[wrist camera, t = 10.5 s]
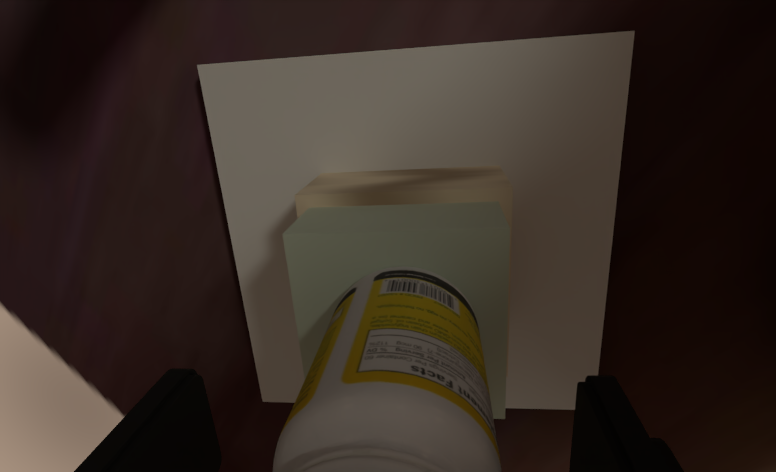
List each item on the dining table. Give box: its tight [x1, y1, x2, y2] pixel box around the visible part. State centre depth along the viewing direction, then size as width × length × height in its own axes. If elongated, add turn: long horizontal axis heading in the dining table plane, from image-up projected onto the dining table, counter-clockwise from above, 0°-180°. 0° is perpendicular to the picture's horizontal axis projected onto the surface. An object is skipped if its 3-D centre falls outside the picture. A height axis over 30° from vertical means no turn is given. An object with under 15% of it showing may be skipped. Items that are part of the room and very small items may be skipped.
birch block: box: [295, 166, 513, 377], centre depth 20 cm, size 8×8×4 cm
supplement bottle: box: [273, 266, 501, 472], centre depth 11 cm, size 5×5×8 cm
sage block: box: [283, 201, 510, 419], centre depth 16 cm, size 7×7×3 cm
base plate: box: [197, 31, 635, 410], centre depth 22 cm, size 18×18×1 cm
